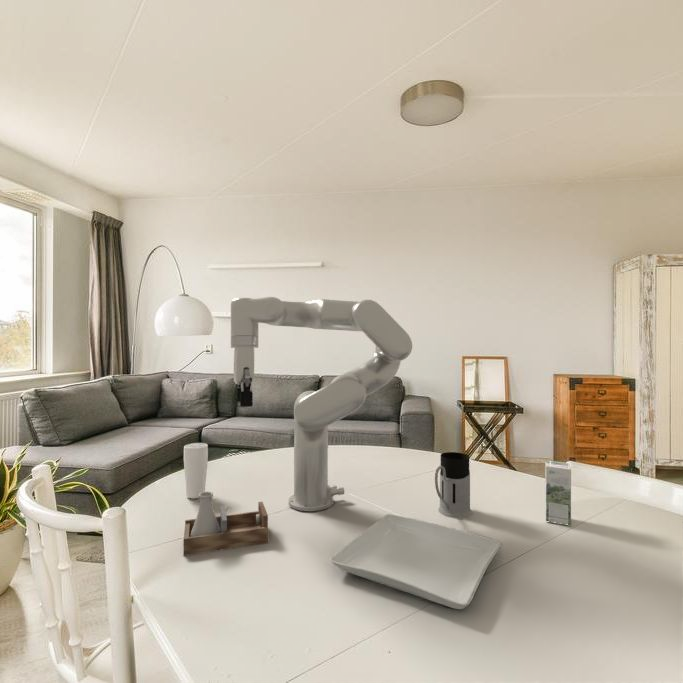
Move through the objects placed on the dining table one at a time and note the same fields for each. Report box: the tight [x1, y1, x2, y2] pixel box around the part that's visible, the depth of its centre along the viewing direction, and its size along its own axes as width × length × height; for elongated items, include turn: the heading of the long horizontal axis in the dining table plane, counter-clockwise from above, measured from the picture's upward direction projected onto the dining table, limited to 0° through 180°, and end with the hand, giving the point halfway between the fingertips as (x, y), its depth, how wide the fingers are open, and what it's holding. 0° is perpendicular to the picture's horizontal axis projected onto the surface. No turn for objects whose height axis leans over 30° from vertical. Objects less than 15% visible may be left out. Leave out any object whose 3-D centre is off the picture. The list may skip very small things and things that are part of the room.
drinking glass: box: [183, 442, 209, 500], centre depth 125 cm, size 7×7×15 cm
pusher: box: [220, 505, 227, 533], centre depth 98 cm, size 1×8×5 cm, turn 19°
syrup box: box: [544, 460, 572, 525], centre depth 108 cm, size 6×6×14 cm
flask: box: [190, 491, 221, 537], centre depth 96 cm, size 7×7×10 cm
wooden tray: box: [182, 501, 269, 556], centre depth 98 cm, size 18×10×6 cm, turn 108°
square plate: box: [328, 513, 503, 610], centre depth 87 cm, size 27×27×4 cm
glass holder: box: [434, 451, 473, 519], centre depth 112 cm, size 9×14×15 cm, turn 137°
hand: (244, 404), depth 118 cm, fingers open, 9 cm apart
